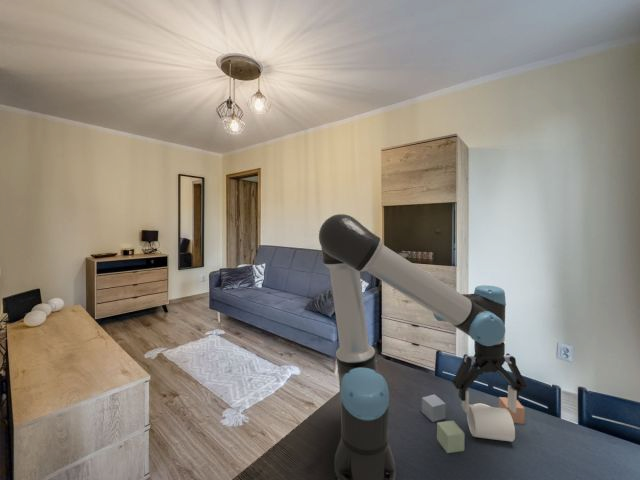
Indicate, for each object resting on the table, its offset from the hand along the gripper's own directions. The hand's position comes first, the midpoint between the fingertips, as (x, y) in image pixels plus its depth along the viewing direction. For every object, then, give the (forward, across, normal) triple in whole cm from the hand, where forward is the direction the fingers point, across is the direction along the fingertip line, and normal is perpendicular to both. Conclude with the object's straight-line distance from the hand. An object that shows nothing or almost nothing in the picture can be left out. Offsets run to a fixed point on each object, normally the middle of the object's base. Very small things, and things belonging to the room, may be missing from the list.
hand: (488, 410), depth 82 cm
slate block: (+7, -13, +7) cm, 16 cm away
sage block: (+7, -13, -5) cm, 16 cm away
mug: (+7, 0, 0) cm, 7 cm away
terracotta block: (+7, +11, +6) cm, 14 cm away
